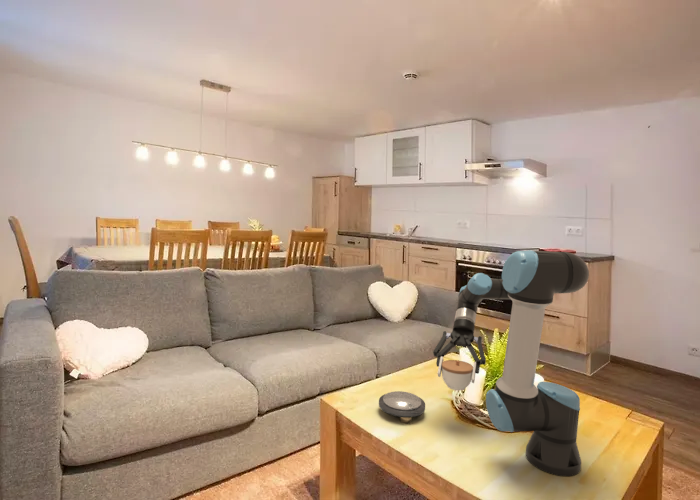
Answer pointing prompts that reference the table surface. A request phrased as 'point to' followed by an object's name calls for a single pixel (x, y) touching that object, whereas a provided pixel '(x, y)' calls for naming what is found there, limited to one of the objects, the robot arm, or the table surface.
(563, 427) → the robot arm
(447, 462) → the table surface
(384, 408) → the base
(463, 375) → the lidded jar
